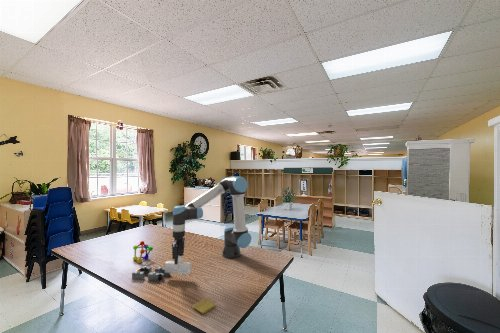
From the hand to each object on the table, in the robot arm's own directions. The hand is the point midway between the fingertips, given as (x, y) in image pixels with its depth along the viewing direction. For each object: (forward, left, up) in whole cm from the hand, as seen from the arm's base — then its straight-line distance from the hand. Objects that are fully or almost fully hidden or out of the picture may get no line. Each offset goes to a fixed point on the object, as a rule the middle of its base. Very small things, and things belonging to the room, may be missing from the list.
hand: (178, 267), depth 140 cm
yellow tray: (-27, +26, -8) cm, 38 cm away
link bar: (0, 0, -3) cm, 3 cm away
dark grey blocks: (+18, 0, -7) cm, 20 cm away
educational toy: (+42, -24, -7) cm, 49 cm away
